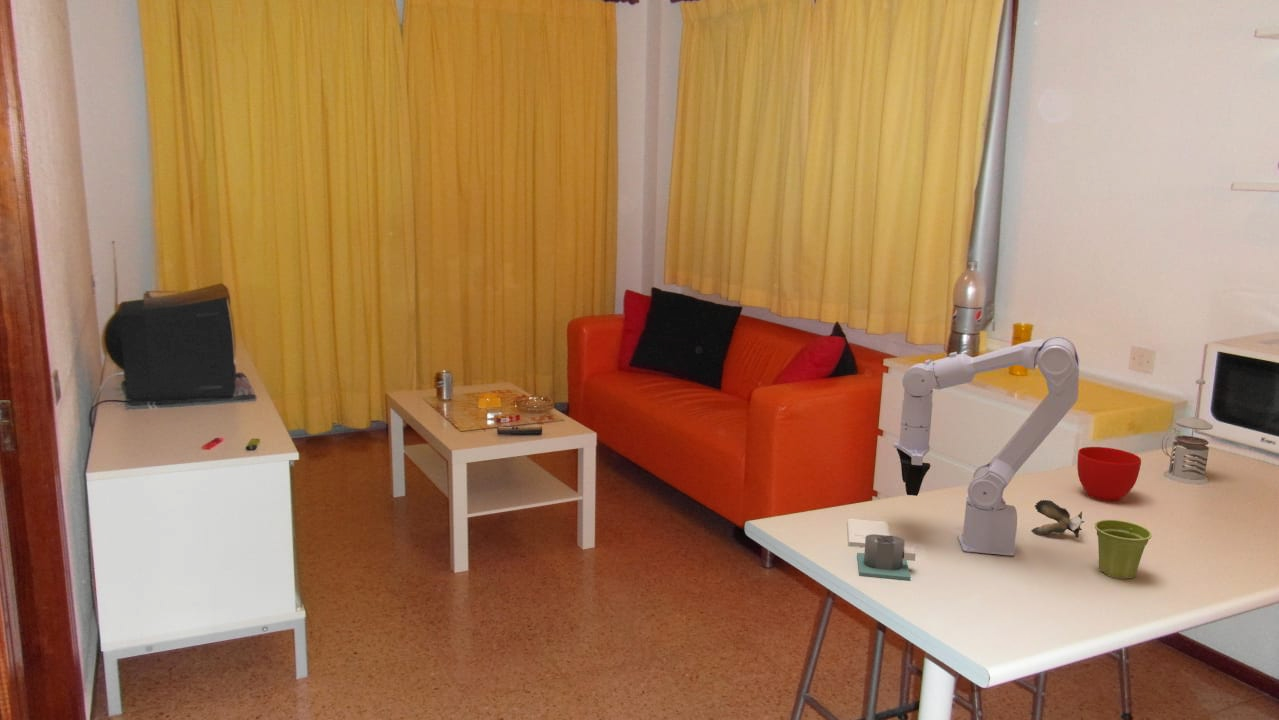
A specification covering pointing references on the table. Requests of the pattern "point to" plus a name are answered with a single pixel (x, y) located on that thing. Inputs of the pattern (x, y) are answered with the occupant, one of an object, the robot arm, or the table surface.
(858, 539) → the external hard drive
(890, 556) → the plug
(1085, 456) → the red bowl
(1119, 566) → the plant pot
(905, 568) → the mat
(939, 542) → the table surface
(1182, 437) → the french press
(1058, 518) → the eagle figurine
